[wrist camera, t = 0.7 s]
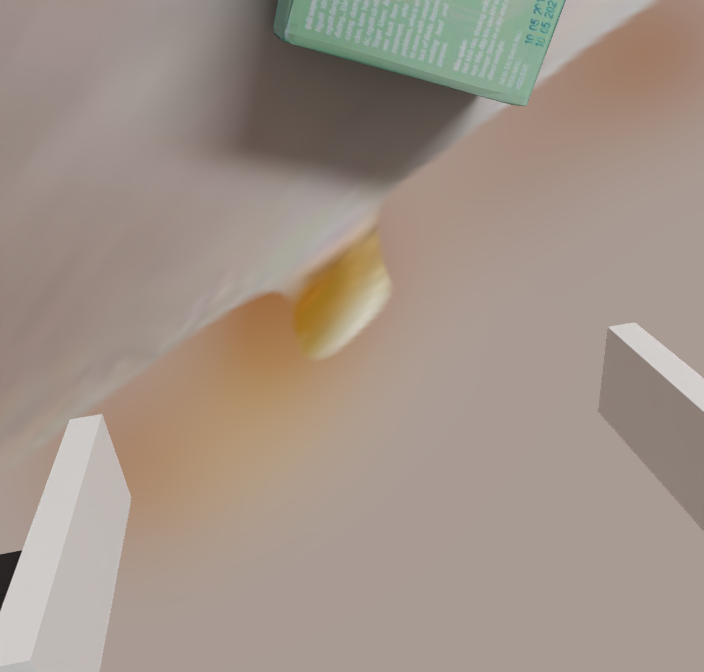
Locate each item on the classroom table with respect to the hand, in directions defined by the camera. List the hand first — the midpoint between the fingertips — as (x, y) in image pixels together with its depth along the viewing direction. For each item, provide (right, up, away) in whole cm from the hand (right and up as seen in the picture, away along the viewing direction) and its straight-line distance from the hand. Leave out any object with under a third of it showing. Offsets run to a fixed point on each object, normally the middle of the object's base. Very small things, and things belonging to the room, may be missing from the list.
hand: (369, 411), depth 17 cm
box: (+2, +21, +20) cm, 30 cm away
